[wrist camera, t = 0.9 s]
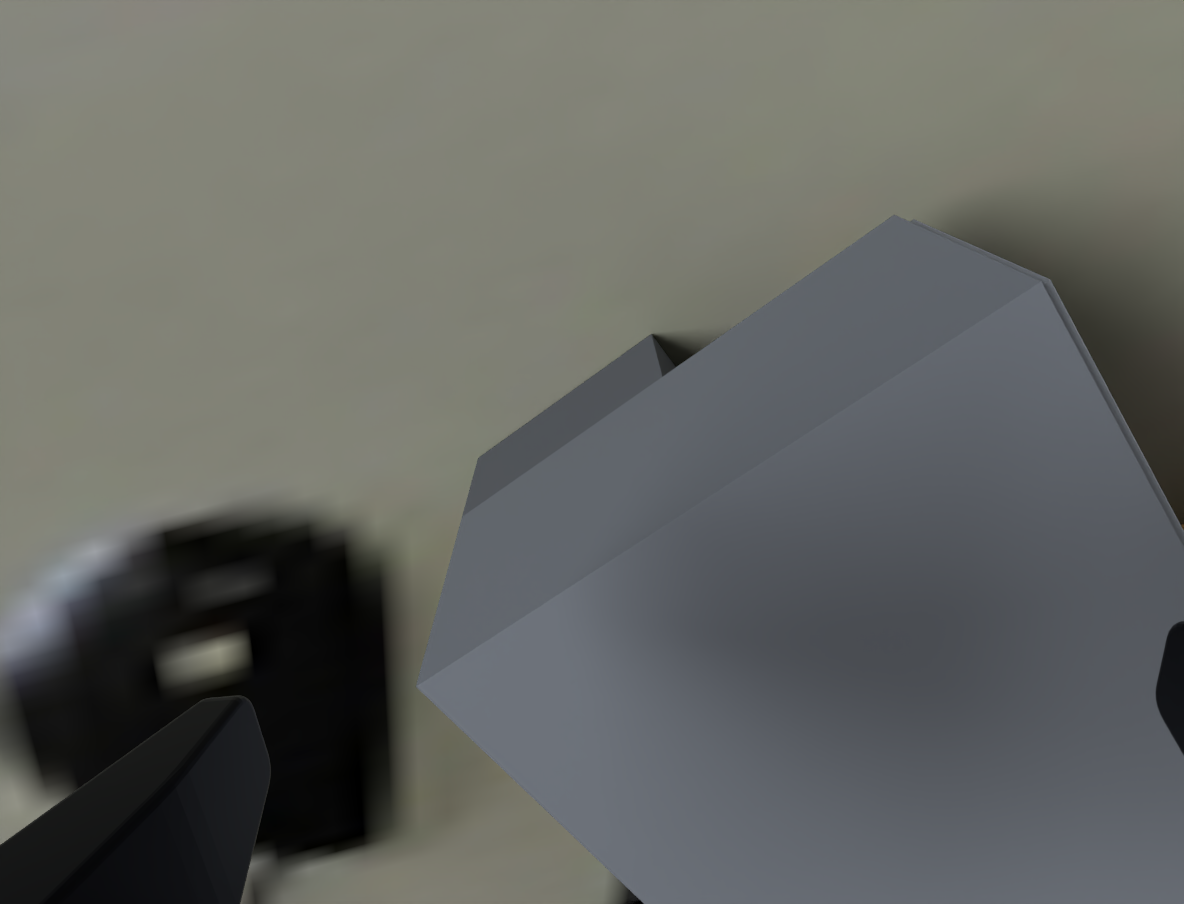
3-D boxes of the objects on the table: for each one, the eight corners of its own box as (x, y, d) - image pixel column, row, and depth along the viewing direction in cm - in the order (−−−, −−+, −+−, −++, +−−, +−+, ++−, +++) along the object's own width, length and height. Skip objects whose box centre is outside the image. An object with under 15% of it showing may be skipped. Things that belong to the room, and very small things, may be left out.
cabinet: (1087, 575, 24) (1355, 842, 15) (748, 762, 26) (823, 1074, 18) (855, 187, 19) (1055, 272, 11) (478, 457, 22) (415, 686, 14)
